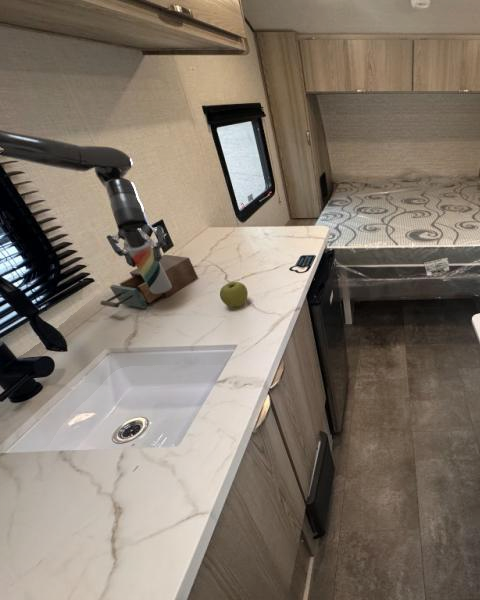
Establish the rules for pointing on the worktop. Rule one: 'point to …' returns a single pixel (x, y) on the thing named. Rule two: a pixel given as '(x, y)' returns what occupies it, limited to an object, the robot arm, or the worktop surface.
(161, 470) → the worktop surface
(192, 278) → the cabinet
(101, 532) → the worktop surface
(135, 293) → the drawer
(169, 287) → the lotion bottle
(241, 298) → the apple
